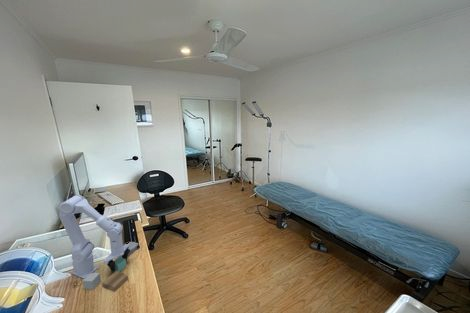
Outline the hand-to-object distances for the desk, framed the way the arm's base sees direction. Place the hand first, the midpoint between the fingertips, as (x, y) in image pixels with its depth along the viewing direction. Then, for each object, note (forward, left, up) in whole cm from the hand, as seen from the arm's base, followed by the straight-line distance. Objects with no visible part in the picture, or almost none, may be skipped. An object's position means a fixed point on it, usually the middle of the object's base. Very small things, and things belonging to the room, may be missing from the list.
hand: (119, 266), depth 108 cm
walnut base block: (+7, -8, -2) cm, 11 cm away
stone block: (-8, +12, -2) cm, 15 cm away
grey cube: (-3, -13, -2) cm, 13 cm away
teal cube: (0, 0, -2) cm, 2 cm away
